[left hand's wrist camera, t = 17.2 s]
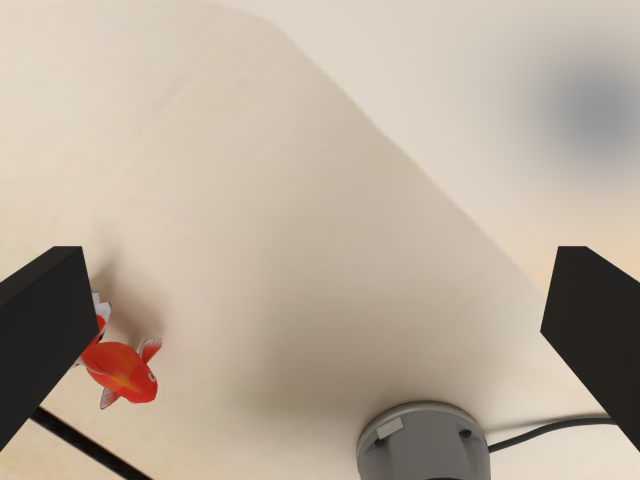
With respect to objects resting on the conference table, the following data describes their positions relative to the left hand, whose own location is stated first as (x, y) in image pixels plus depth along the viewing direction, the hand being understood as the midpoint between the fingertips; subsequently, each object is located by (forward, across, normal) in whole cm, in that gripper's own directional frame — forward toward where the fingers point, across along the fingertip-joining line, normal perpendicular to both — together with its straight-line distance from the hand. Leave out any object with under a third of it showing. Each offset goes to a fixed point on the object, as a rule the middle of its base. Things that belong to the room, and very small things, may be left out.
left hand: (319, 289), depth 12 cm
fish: (+29, -23, -20) cm, 42 cm away
